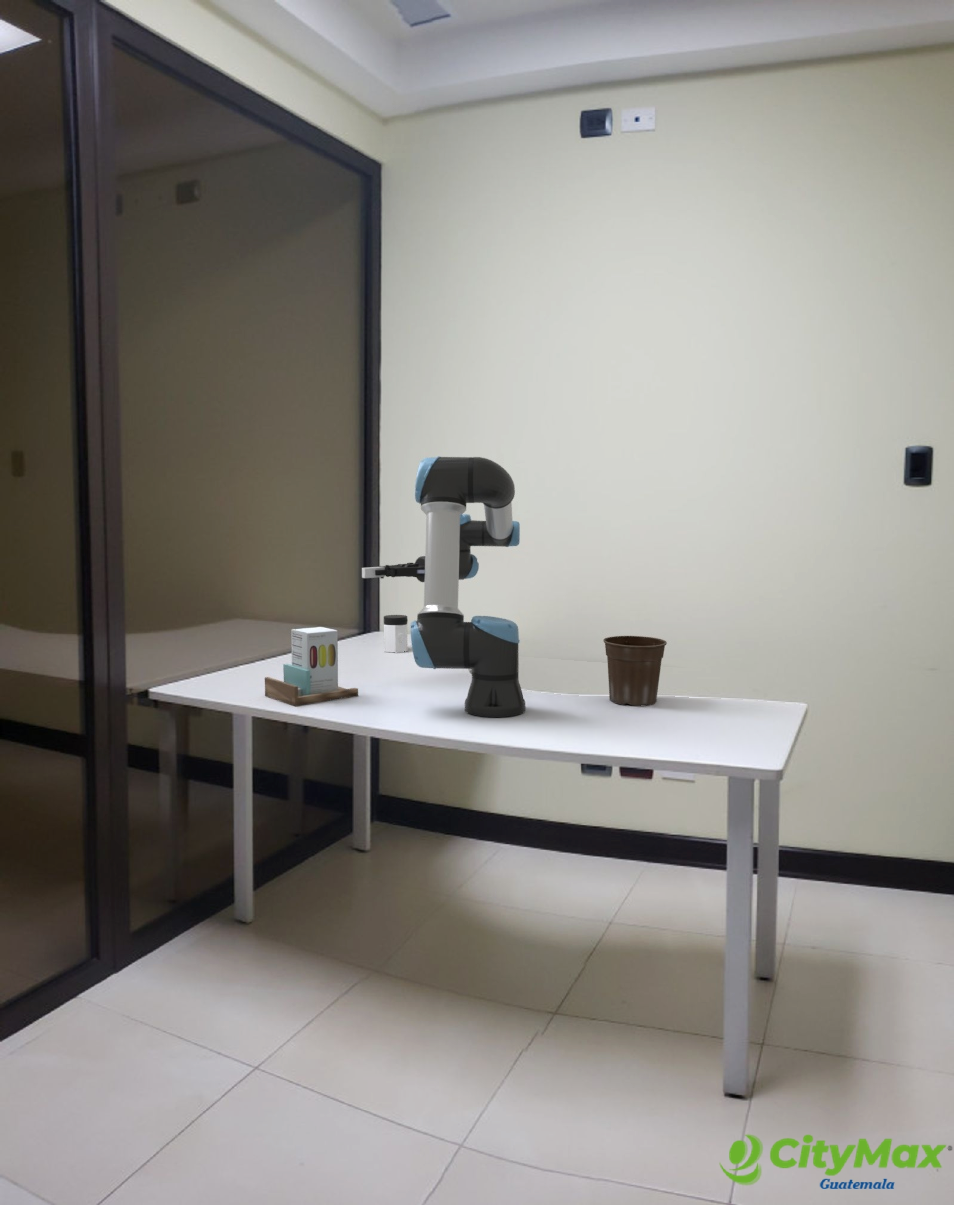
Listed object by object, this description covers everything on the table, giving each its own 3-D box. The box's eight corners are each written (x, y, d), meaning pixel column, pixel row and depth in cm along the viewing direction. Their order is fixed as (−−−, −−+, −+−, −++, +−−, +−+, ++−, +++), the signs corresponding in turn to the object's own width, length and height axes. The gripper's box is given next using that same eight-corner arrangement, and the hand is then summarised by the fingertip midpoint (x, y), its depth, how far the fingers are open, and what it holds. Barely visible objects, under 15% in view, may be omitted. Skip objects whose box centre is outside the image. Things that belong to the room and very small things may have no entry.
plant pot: (678, 703, 244) (680, 642, 242) (630, 711, 235) (632, 647, 233) (636, 692, 257) (637, 633, 255) (589, 699, 249) (590, 638, 247)
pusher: (287, 689, 254) (287, 663, 253) (310, 696, 244) (310, 670, 244) (275, 691, 251) (275, 665, 250) (298, 698, 242) (297, 671, 241)
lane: (326, 686, 264) (326, 668, 263) (358, 696, 252) (357, 677, 251) (265, 695, 252) (264, 677, 251) (294, 706, 239) (294, 686, 239)
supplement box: (307, 697, 246) (306, 633, 244) (290, 691, 253) (289, 628, 251) (339, 692, 251) (338, 629, 249) (322, 686, 259) (321, 625, 257)
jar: (389, 654, 317) (389, 618, 315) (378, 650, 323) (378, 615, 322) (413, 651, 321) (412, 616, 320) (401, 648, 328) (401, 614, 327)
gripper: (445, 583, 269) (376, 588, 254) (418, 579, 279) (350, 584, 264) (445, 557, 268) (376, 560, 253) (418, 554, 278) (350, 558, 263)
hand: (363, 573), depth 259 cm, fingers closed
